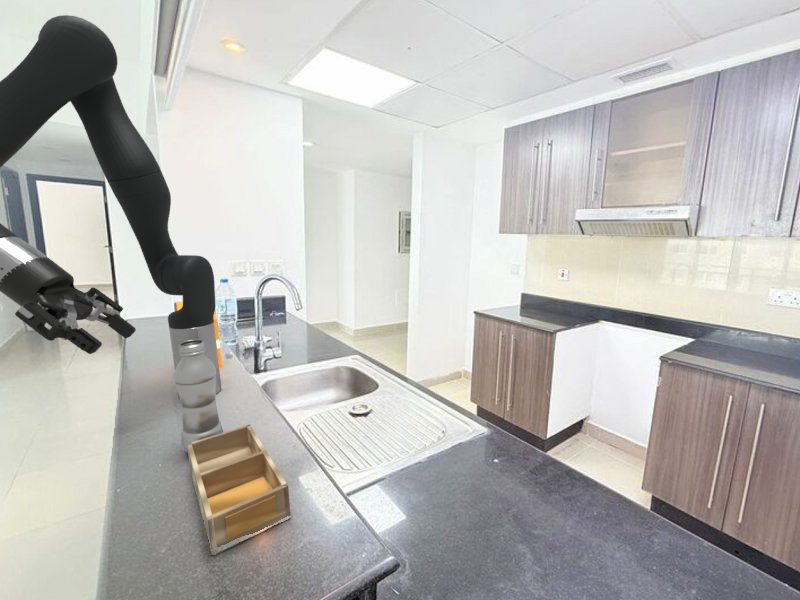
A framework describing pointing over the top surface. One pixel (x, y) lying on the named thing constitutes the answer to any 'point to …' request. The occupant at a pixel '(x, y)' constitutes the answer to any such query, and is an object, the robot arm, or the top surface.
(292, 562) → the top surface
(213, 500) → the tray
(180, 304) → the orange juice
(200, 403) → the plastic bottle
